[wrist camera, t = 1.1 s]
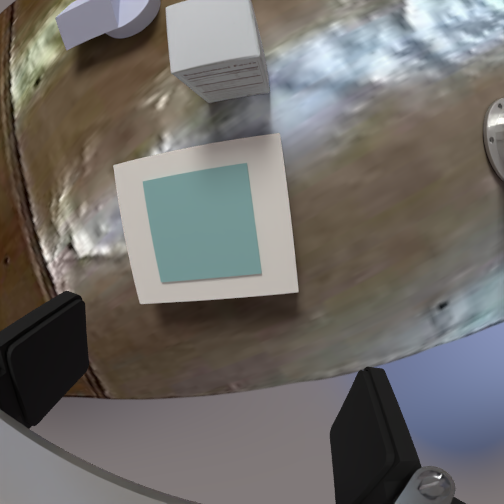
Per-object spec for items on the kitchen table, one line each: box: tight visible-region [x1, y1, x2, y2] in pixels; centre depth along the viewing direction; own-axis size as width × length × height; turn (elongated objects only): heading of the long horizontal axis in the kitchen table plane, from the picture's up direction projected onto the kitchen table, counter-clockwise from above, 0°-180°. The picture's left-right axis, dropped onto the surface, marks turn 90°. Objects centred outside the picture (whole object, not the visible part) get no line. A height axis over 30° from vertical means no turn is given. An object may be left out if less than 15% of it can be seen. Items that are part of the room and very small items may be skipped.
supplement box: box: [166, 0, 270, 103], centre depth 26 cm, size 7×7×13 cm
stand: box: [113, 133, 298, 304], centre depth 34 cm, size 18×16×5 cm
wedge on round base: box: [55, 0, 160, 50], centre depth 27 cm, size 9×7×13 cm
